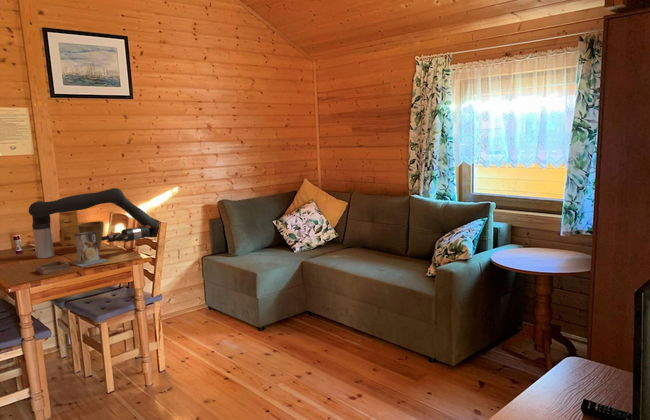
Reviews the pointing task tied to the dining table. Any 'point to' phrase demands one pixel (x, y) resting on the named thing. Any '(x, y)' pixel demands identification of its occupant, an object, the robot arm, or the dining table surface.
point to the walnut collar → (52, 267)
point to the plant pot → (93, 229)
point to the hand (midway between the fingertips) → (104, 239)
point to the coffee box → (87, 247)
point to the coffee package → (68, 227)
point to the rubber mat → (88, 262)
